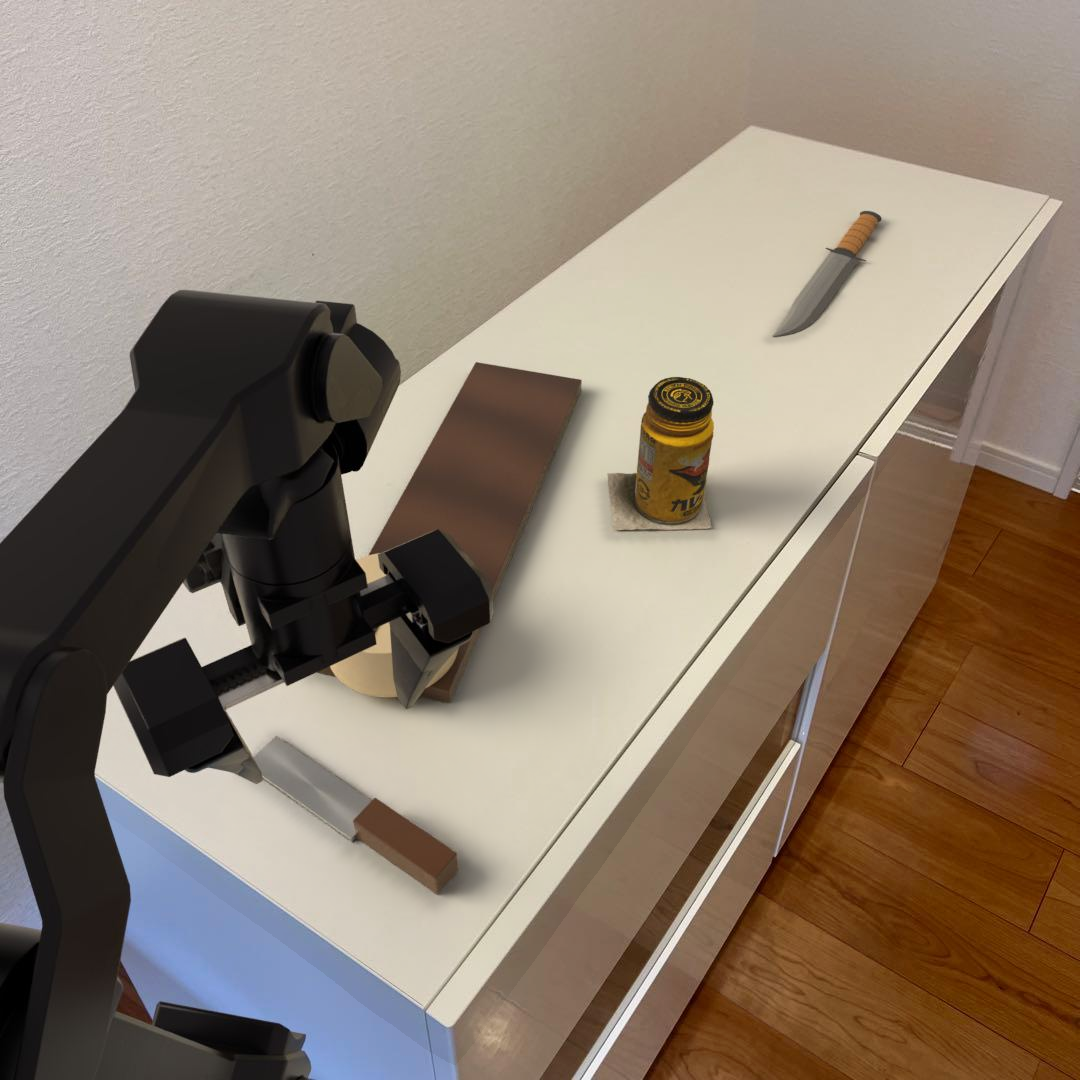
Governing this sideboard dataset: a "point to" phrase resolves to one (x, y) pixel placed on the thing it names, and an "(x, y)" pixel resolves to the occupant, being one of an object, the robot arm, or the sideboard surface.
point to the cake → (376, 654)
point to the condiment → (668, 461)
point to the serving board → (484, 476)
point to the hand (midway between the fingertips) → (332, 738)
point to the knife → (828, 276)
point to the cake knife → (357, 815)
